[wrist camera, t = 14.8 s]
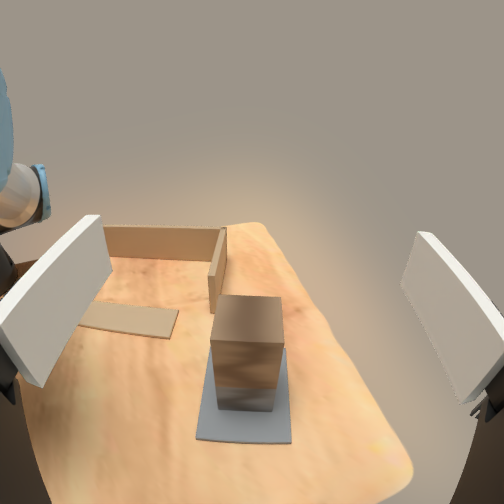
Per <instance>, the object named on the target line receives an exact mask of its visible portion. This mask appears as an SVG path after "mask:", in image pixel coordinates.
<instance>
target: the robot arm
mask: <svg viewBox="0 0 504 504" xmlns="http://www.w3.org/2000/svg"><path fill="white" fill-rule="evenodd" d="M6 92H7V86H6V82H5V79H4V76H3V74H2V71H1V69H0V235H2V234H4V233H7V232H10V231H13V230H16V229H19V228H22V227H25V226H28V225H31V224H34V223H37V222H38V223H40V222H42V221H43V220H45V219H48V218H49V217H50V215H51V207H50V199H49V192H48V185H47V179H46V173H45V167H44V166H43V165H42V164H38V165H32V166H31V167H28V166H25V165H23V164H18V163H13V161H12V160H13V123H12V114H11V106H10V101H9V98H8V97H7V95H6ZM112 271H113V270H112V266H111V262H110V258H109V253H108V249H107V244H106V240H105V235H104V230H103V224H102V219H101V215H86V216H85V217H83V218H82V219H81V220H80V221H79V222H78V223H77V224H75V225H74V226H73V227H72V228H71V229H70V230H69V231H68V232H67V233H66V234H64V235H63V236H62V237H61V238H60V239H59V240H58V241H57V242H56V243H55V244H54V245H53V246H52V247H51V248H50V249H49V250H48V251H47V252H46V253H45V254H44V255H43V256H42V257H41V258H40V259H39V260H38V261H37V262H36V263H35V264H34V265H33V266H32V267H31V268H30V269H29V270H28V271H27V272H26V273H25V274H24V275H23V276H22V277H21V278H20V279H18V280H17V281H16V282H15V280H16V278H17V269H16V267H15V264H14V262H13V261H12V259H11V258H10V256H9V255H8V254H7V252H6V251H5V250H4V248H3V247H2V245H1V244H0V296H1V295H2V294H3V293H5V292H6V291H7V290H8V289H9V288H10V287H11V286H12V284H13V283H14V282H15V284H14V285H13V286H12V287H11V288H10V291H7V293H6V294H5V295H4V298H1V300H0V504H52V503H51V500H50V498H49V495H48V493H47V490H46V488H45V485H44V482H43V480H42V477H41V474H40V471H39V468H38V465H37V462H36V459H35V455H34V452H33V448H32V445H31V441H30V437H29V433H28V429H27V424H26V420H25V415H24V410H23V405H22V399H21V393H20V386H19V383H18V380H17V379H16V377H15V376H16V374H17V372H18V371H19V372H20V374H21V375H22V376H23V378H24V379H25V380H26V382H28V383H30V384H33V385H35V386H38V387H40V388H43V387H44V385H45V383H46V381H47V379H48V377H49V375H50V373H51V371H52V369H53V367H54V365H55V364H56V362H57V360H58V358H59V356H60V354H61V353H62V351H63V349H64V347H65V346H66V344H67V342H68V340H69V339H70V337H71V335H72V333H73V332H74V330H75V328H76V327H77V325H78V323H79V322H80V320H81V319H82V317H83V315H84V314H85V312H86V310H87V309H88V307H89V306H90V304H91V303H92V301H93V300H94V298H95V296H96V295H97V293H98V292H99V290H100V289H101V287H102V286H103V284H104V283H105V281H106V280H107V278H108V277H109V275H110V274H111V273H112ZM400 286H401V288H402V290H403V291H404V293H405V295H406V296H407V298H408V300H409V302H410V304H411V305H412V307H413V309H414V311H415V313H416V314H417V316H418V318H419V320H420V322H421V323H422V325H423V327H424V329H425V331H426V333H427V335H428V337H429V339H430V340H431V343H432V345H433V347H434V348H435V351H436V353H437V355H438V357H439V359H440V361H441V363H442V366H443V368H444V370H445V372H446V374H447V376H448V379H449V381H450V383H451V386H452V388H453V390H454V392H455V395H456V397H457V400H458V402H459V405H461V404H464V403H467V402H471V401H473V400H475V399H476V398H477V397H478V396H479V395H480V394H481V392H483V390H484V389H485V390H486V392H487V396H486V397H485V398H484V399H483V400H482V401H481V402H480V403H479V404H478V405H477V406H476V407H475V408H474V409H473V410H472V412H471V414H470V416H473V415H474V414H475V413H476V412H477V411H478V410H480V413H479V414H478V415H477V416H476V417H475V418H477V419H478V423H477V427H476V431H475V434H474V438H473V442H472V445H471V448H470V452H469V455H468V458H467V461H466V464H465V467H464V470H463V472H462V475H461V478H460V480H459V483H458V485H457V488H456V490H455V493H454V495H453V497H452V500H451V502H450V504H504V317H503V315H502V314H501V313H500V312H499V310H498V308H497V307H496V306H495V304H494V303H493V302H492V301H491V300H490V299H489V298H488V297H487V295H486V294H485V293H484V292H483V290H482V289H481V288H480V287H479V285H478V284H477V283H476V282H475V280H474V279H473V278H472V277H471V276H470V275H469V273H468V272H467V271H466V270H465V269H464V268H463V266H462V265H461V264H460V263H459V262H458V261H457V260H456V259H455V257H454V256H453V255H452V254H451V253H450V252H449V251H448V250H447V249H446V248H445V247H444V245H443V244H442V243H441V242H440V241H439V240H438V239H437V238H436V237H435V236H434V235H433V234H432V233H429V232H420V231H419V232H417V235H416V238H415V241H414V244H413V248H412V251H411V254H410V257H409V260H408V263H407V266H406V269H405V271H404V274H403V277H402V280H401V282H400Z"/></svg>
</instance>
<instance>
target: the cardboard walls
mask: <svg viewBox="0 0 504 504" xmlns="http://www.w3.org/2000/svg"><path fill="white" fill-rule="evenodd" d="M103 230H104V235H105V240H106V244H107V249H108V253H109V256H113V257H131V258H151V259H171V260H192V261H212V262H211V265H210V269H209V273H208V287H209V301H210V313H215V311H216V306H217V301H218V296H219V294H220V293H221V288H222V283H223V277H224V272H225V267H226V261H227V227H203V226H165V225H103ZM178 312H179V310H176V309H164V308H153V307H143V306H134V305H125V304H116V303H108V302H100V301H92V303H91V304H90V306H89V307H88V309H87V310H86V312H85V314H84V315H83V317H82V319H81V320H80V322H79V323H78V325H77V326H83V327H88V328H94V329H99V330H105V331H111V332H118V333H125V334H131V335H139V336H146V337H155V338H163V339H170V337H171V334H172V331H173V327H174V324H175V321H176V318H177V315H178Z"/></svg>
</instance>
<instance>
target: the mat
mask: <svg viewBox="0 0 504 504" xmlns="http://www.w3.org/2000/svg"><path fill="white" fill-rule="evenodd" d="M196 440H205V441H215V442H228V443H246V444H291V424H290V407H289V392H288V377H287V363H286V349H285V348H284V349H283V355H282V361H281V366H280V372H279V378H278V384H277V389H276V394H275V400H274V405H273V410H272V412H250V411H231V410H218V405H217V397H216V389H215V381H214V372H213V363H212V353H211V346H210V352H209V357H208V363H207V369H206V375H205V381H204V387H203V393H202V399H201V406H200V412H199V418H198V425H197V431H196Z"/></svg>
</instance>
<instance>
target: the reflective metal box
mask: <svg viewBox="0 0 504 504" xmlns="http://www.w3.org/2000/svg"><path fill="white" fill-rule="evenodd" d="M210 343H211V353H212V363H213V372H214V381H215V389H216V397H217V405H218V410H231V411H250V412H272V410H273V405H274V400H275V394H276V389H277V384H278V378H279V372H280V366H281V361H282V355H283V349H284V330H283V317H282V304H281V297H264V296H240V295H220V294H219V296H218V301H217V306H216V311H215V316H214V321H213V327H212V332H211V337H210Z"/></svg>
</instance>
